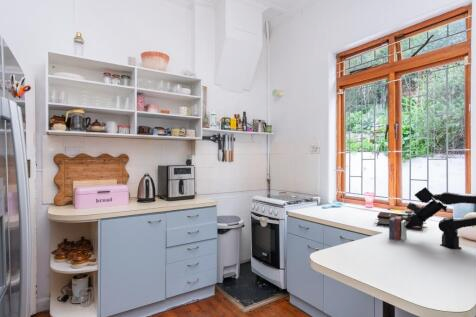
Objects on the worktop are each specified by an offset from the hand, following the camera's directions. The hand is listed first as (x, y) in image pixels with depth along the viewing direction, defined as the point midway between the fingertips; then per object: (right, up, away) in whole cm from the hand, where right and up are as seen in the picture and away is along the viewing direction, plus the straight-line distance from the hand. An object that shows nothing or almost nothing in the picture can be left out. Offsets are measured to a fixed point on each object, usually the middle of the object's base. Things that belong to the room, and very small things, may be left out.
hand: (405, 227), depth 152 cm
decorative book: (+17, -8, +35) cm, 40 cm away
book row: (-4, -7, +3) cm, 9 cm away
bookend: (0, -7, 0) cm, 7 cm away
